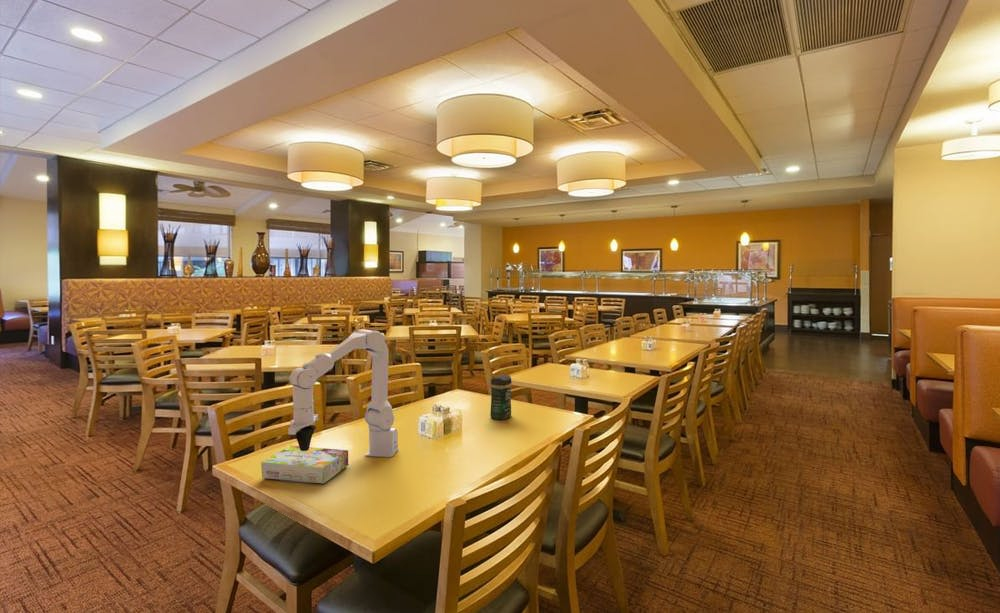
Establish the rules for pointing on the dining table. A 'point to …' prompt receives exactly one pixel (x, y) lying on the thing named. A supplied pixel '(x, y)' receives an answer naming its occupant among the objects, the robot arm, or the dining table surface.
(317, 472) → the snack box
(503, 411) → the coffee jar
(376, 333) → the robot arm
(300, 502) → the dining table surface
